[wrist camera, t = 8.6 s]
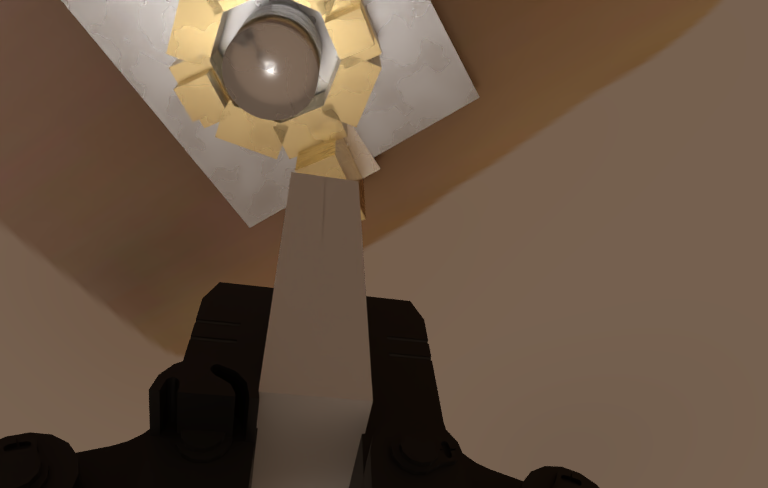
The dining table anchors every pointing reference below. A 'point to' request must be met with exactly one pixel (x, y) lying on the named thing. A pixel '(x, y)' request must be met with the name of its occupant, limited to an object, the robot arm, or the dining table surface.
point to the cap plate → (253, 173)
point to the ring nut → (302, 131)
